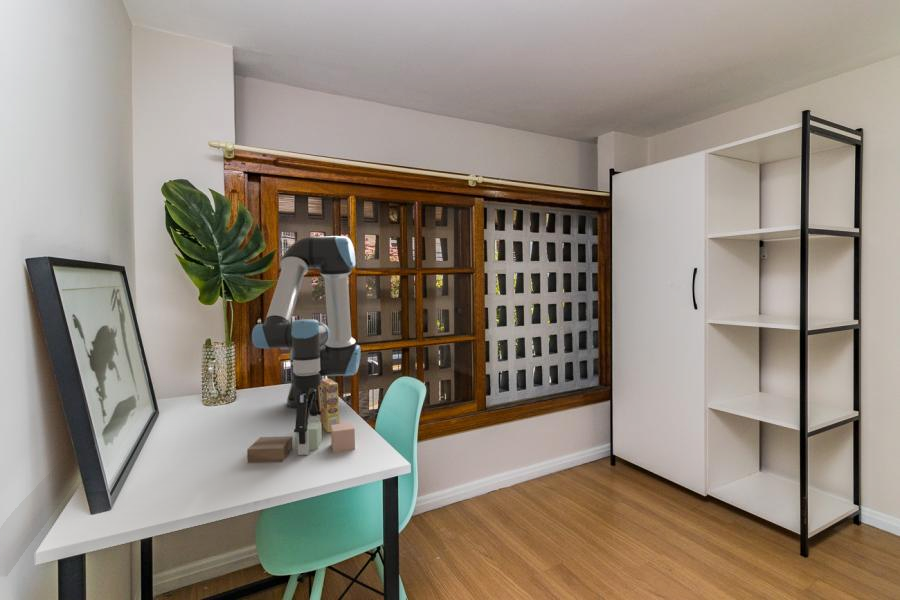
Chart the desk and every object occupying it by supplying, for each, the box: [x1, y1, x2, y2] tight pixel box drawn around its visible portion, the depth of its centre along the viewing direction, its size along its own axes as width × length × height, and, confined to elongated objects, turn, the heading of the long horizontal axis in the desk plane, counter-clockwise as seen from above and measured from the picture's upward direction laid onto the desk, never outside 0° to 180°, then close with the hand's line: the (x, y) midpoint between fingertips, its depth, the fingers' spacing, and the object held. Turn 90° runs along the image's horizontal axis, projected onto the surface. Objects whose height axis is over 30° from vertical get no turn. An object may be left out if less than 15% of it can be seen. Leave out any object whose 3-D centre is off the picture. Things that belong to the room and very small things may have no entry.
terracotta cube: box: [330, 421, 356, 453], centre depth 128 cm, size 6×6×6 cm
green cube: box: [295, 421, 323, 451], centre depth 129 cm, size 6×6×6 cm
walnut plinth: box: [246, 435, 294, 464], centre depth 123 cm, size 9×9×4 cm
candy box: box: [318, 378, 340, 433], centre depth 144 cm, size 9×4×15 cm, turn 33°
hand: (309, 445), depth 129 cm, fingers open, 13 cm apart
